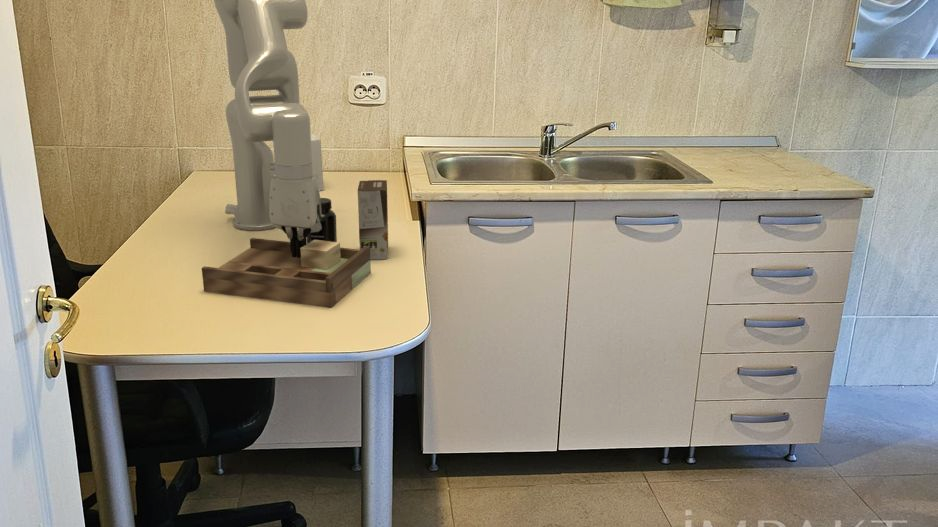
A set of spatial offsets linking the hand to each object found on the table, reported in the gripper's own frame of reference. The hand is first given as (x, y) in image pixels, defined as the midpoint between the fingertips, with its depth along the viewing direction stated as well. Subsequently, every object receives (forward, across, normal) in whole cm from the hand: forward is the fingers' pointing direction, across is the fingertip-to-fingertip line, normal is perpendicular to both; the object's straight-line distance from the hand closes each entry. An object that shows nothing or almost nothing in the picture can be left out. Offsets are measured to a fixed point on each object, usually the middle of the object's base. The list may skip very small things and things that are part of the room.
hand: (299, 255), depth 183 cm
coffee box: (+4, +10, +17) cm, 20 cm away
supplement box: (+4, -31, +63) cm, 70 cm away
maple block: (+1, +5, 0) cm, 5 cm away
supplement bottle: (+4, -2, +15) cm, 16 cm away
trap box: (+4, 0, -5) cm, 6 cm away
